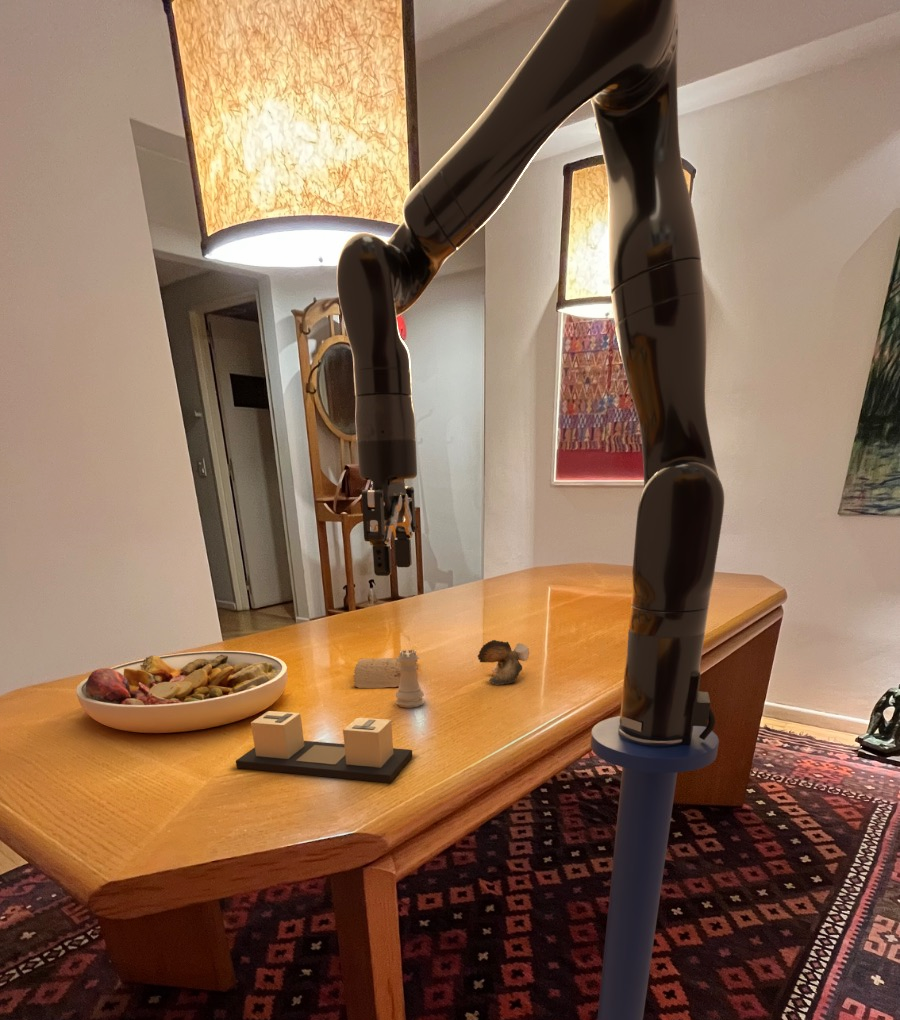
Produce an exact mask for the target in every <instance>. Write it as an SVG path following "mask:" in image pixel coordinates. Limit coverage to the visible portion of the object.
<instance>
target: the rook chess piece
mask: <svg viewBox="0 0 900 1020" xmlns="http://www.w3.org/2000/svg"><path fill="white" fill-rule="evenodd" d="M398 653H399V654H398V656H397V657H396V658H397V660H398V661H399V662H400V664H401V665H400V668H399V669H400V671H401V679H400V686H398V688H397V691H396V693H395V697H396V698H397V699H395V703H396V704H397V706H399V707H401V708H408V709H410V708H418V707H421V706H422V705H423V704H424V702H425V701H426V700H425V698H424V696H425V694H424V691H423V689H422V687H421V686H420V684H419V683H420V682H419V678H418V672H417V671H418V669H419V667H418V666H417V663H418V661H419V659H420V657H419V656H418V654H417V650H413V649H408V652H407V649H402V650H400V651H399V652H398Z"/></svg>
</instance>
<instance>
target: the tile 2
mask: <svg viewBox="0 0 900 1020" xmlns="http://www.w3.org/2000/svg"><path fill="white" fill-rule="evenodd" d="M342 733H343V734H342V735H343V744H344V745H345V755H346V764H347V765H357V766H368V767H379V768H381V767H382V766H383V765H384V764H385V763H386V761H387V760H388V759H389V758H390V757H391V756H392V755H393V754H394V753H393V748H394V739H393V723H392V719H385V718H384V719H383V718H373V717H372V718H371V717H356V718H355V719H353V721H352V722H351V723H349V724H348V725H347V726H346V727H344V728H343V729H342Z"/></svg>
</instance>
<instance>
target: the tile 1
mask: <svg viewBox="0 0 900 1020" xmlns="http://www.w3.org/2000/svg"><path fill="white" fill-rule="evenodd" d="M250 727H251V732H252V738H253V745H254V747H255V752H256V756H260V757H271V758H282V759H289V758H290V757H291V756H293V755H294V754H295V753H296V752H298V751H299V750H300V749H301V748H303V747H304V741H305V740H304V731H303V723H302V714H301V713H300V712H291V711H289V712H288V711H275V710H268V711H266V712H265V713H263V714H261V715H260V716H259V717H257V718H255V719H254V720H252V721H250Z"/></svg>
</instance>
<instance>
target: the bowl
mask: <svg viewBox="0 0 900 1020" xmlns="http://www.w3.org/2000/svg"><path fill="white" fill-rule="evenodd" d="M288 677H289V675H288V667H287V665H286V663H285V661H283V660H282V659H280V658H278V657H276V656H273V655H270V654H265V653H262V652H261V653H260V652H254V651H253V652H251V651H243V650H205V651H204V650H203V651H193V652H192V651H190V652H189V651H188V652H181V653H173V654H166V655H159V656H157V655H149V656H148V657H147V656H146V657H145V658H142V659H138V660H133V661H129V662H124V663H122V664H121V663H120V664H118V665H114V666H111V667H108V668H106V667H104V668H98V669H94V670H93V671H92V672H91V674H89V676H88V677H86V678H85V679H83V680H82V681H80V683H79V684H78V685H77V686H76V690H75V692H76V697H77V701H78V703H79V705H80V706H81V708H82V709H83V711H84V712H85V713H86V714H87V715H88V716H89V717H90V718H92V719H93V720H94V721H96V722H98V723H99V724H101V725H104V726H106V727H109V728H111V729H116V730H119V731H125V732H130V733H131V732H133V733H141V734H142V733H144V734H172V733H184V732H192V731H193V732H194V731H198V730H205V729H211V728H214V727H220V726H224V725H229V724H231V723H235V722H238V721H242V720H244V719H247V718H250V717H252V716H255V715H257V714H259V713H261V712H263V711H265V710H266V709H267V708H269V707H271V706H272V705H273V704H274V703H276V702H277V701H278V700H279V699H280V697H281V696H282V694H283V693H284V691H285V690H286V687H287V685H288V684H287V683H288Z"/></svg>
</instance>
